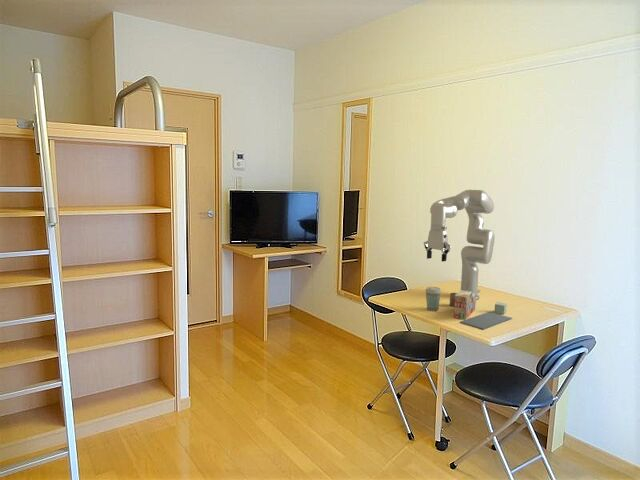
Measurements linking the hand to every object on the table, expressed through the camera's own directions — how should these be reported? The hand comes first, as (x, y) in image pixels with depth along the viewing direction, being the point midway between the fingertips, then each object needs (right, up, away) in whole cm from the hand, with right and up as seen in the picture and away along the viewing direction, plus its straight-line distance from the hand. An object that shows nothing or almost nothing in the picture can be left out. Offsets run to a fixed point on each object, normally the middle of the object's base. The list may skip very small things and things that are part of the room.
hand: (436, 259), depth 241 cm
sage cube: (+36, -29, +4) cm, 46 cm away
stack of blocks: (+16, -29, +2) cm, 33 cm away
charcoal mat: (+23, -31, -10) cm, 40 cm away
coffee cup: (0, -28, +8) cm, 29 cm away
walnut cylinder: (+14, -27, +16) cm, 34 cm away
